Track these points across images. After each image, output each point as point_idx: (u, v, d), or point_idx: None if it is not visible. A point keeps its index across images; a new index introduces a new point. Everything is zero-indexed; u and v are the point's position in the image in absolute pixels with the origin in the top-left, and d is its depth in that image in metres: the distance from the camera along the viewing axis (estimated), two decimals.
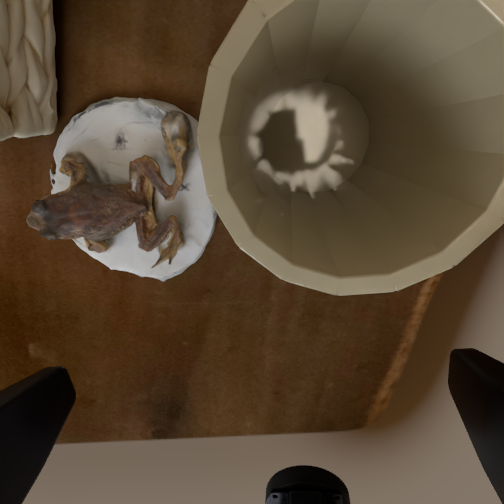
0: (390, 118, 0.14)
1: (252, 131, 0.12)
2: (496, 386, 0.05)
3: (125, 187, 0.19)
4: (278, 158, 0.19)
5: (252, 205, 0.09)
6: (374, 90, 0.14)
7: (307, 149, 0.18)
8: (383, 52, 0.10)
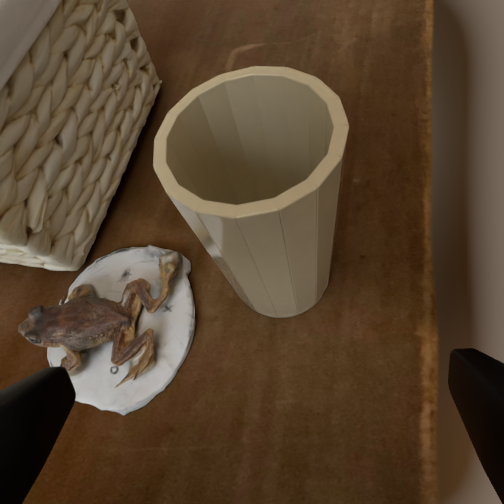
0: None
1: None
2: (496, 386, 0.05)
3: (116, 302, 0.22)
4: None
5: None
6: None
7: None
8: (291, 162, 0.16)
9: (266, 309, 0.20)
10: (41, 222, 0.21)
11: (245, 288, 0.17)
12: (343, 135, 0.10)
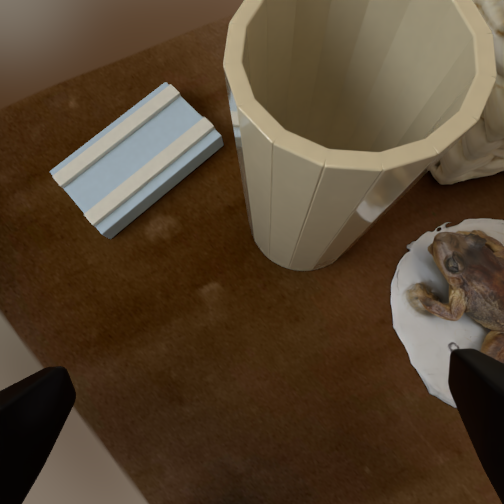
0: None
1: None
2: (496, 386, 0.05)
3: None
4: None
5: None
6: None
7: None
8: (368, 101, 0.13)
9: (281, 259, 0.18)
10: None
11: (272, 236, 0.15)
12: (486, 89, 0.08)
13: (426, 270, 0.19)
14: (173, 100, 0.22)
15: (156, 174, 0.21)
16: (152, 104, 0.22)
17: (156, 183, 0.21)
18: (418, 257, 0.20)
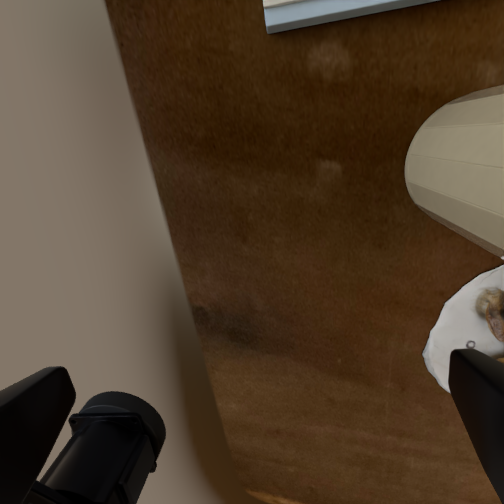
0: None
1: None
2: (496, 386, 0.05)
3: None
4: None
5: None
6: None
7: None
8: None
9: (421, 197, 0.16)
10: None
11: (452, 200, 0.13)
12: None
13: None
14: None
15: None
16: None
17: None
18: None
